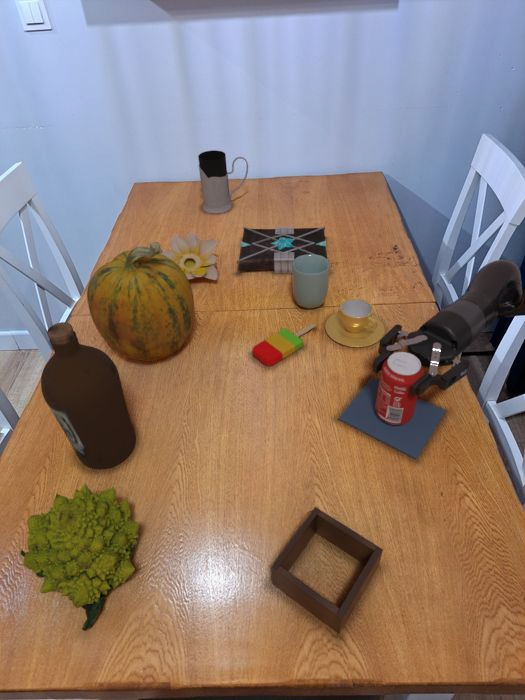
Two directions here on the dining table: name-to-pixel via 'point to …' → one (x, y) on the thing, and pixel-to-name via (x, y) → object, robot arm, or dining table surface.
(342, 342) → the cup
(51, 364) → the olive oil
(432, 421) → the mat
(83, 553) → the vegetable
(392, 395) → the beverage can
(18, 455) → the dining table surface
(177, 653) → the dining table surface
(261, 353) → the popsicle
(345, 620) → the can holder
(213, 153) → the glass holder
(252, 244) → the book
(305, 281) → the cup
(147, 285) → the pumpkin
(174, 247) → the decorative flower
